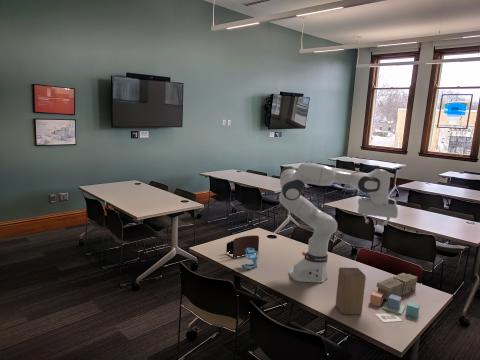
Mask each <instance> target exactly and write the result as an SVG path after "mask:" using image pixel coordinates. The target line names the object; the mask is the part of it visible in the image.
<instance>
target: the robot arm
mask: <svg viewBox="0 0 480 360" xmlns="http://www.w3.org/2000/svg"><path fill="white" fill-rule="evenodd" d="M279 179H280V180H279V184H280V188H281V192H280V193H279V194H278V195H279V196H278V201H279V203H280V204H281V205H282V206H283V207H284V208H285V209H286V210H288V211H289V212H290V213H291V214H293V215H294V216H296V217H297V218H299V219H300V220H301V221H302V222H304V223H305V224H306V225H308V226H309V227H311V228H312V229H313V230H314V231H313V232H312V233H313V234H312V236H311V237H310V238H309V239H308V244H307V245H308V247H307V252H305V251H302V252H301V255H302V256H303V258H302V259H301V260H299V261H297V262H296V263H294V266H293V269H291V270H289V276H290V277H291V278H292V280H294V281H295V282H301V283H324V281H326V280H328V278H329V276H328V270H327V267H328V265H327V263H328V260H329V259H328V257H329V255H328V248H329V247H328V246H329V241H330V238H331V236H332V235H333V234H335V232H336V231H337V230H338V222H337V220H336V219H335V218H334V217H333V216H332V215H330V214H328V213H326V212H323V211H322V210H321V209H319V208H318V207H317V206H315V205H314V204H313V203H312V202H311V201H309V199H307V197H304V196H303V195H302V194H303V192H304V191H305V189H306V185H307V184H308V185H309V184H310V185H315V186H322V187H325V186H330V185H332V184H333V183H337V184H343V185H347V186H349V187H351V188H352V189H354V190H357V191H359V192H361V193H364V194H367V193H370V197H360V198H358V200H357V202H358V208H357V213H358V215H363V217H364V220H365V221H364V222H365V224H369V219H368V218H367V217H368V216H373V217H382V218H386V220H385V221H383V226H387V225H388V222H389V221H390V220H391V218H392V219H396V218H398V216H399V215H398V214H399V211H398V206H397V203H398V202H397V200H396V199H395V198H392V197H390V196H389V189H390V184H391V174H390V172H389V171H388V170H385V169H380V168H375V169H373V170H372V171H370V172H367V173H364V172H362V171H354V172H345V171H340V170H339V171H338V170H335V169H334V168H332V167H330V166H328V165H324V164H319V163H315V162H314V163H312V162H303V163H300V165H298V166H297V168H296V167H294V166H292V165H290V166H289V165H287V166H285V167H282V169H281V170H280V174H279Z"/></svg>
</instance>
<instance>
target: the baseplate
mask: <svg viewBox="0 0 480 360" xmlns="http://www.w3.org/2000/svg"><path fill="white" fill-rule="evenodd" d="M401 302H402V296H401V297H399V296H396V295H392V294H391V295H390V296H389V299H388V300H386V301H385V302H384V304H383V305H382V307H381V309H382V310H384V311H388V312H389V313H393V312H394V314H396V315H400V316H402V315H403V313H404V311H405V308H406V306H405V305H403V304H402V303H401Z"/></svg>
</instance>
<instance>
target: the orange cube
mask: <svg viewBox="0 0 480 360" xmlns="http://www.w3.org/2000/svg"><path fill="white" fill-rule="evenodd" d="M369 299H370V300H369V304H370V305H374V306H378V307H381V306H382V304H383V300H384V299H383V293H379V292H378V291H376V290H372V292H371V294H370V297H369Z"/></svg>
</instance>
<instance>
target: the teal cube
mask: <svg viewBox="0 0 480 360" xmlns="http://www.w3.org/2000/svg"><path fill="white" fill-rule="evenodd" d="M420 307H421V304H420V303H417V302H413V301H410V300H409V301H407V305H406V307H405V308H406V310H405V315H406V316H409V317H412V318H416V319H417V318H418V316H419V314H420Z"/></svg>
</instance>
